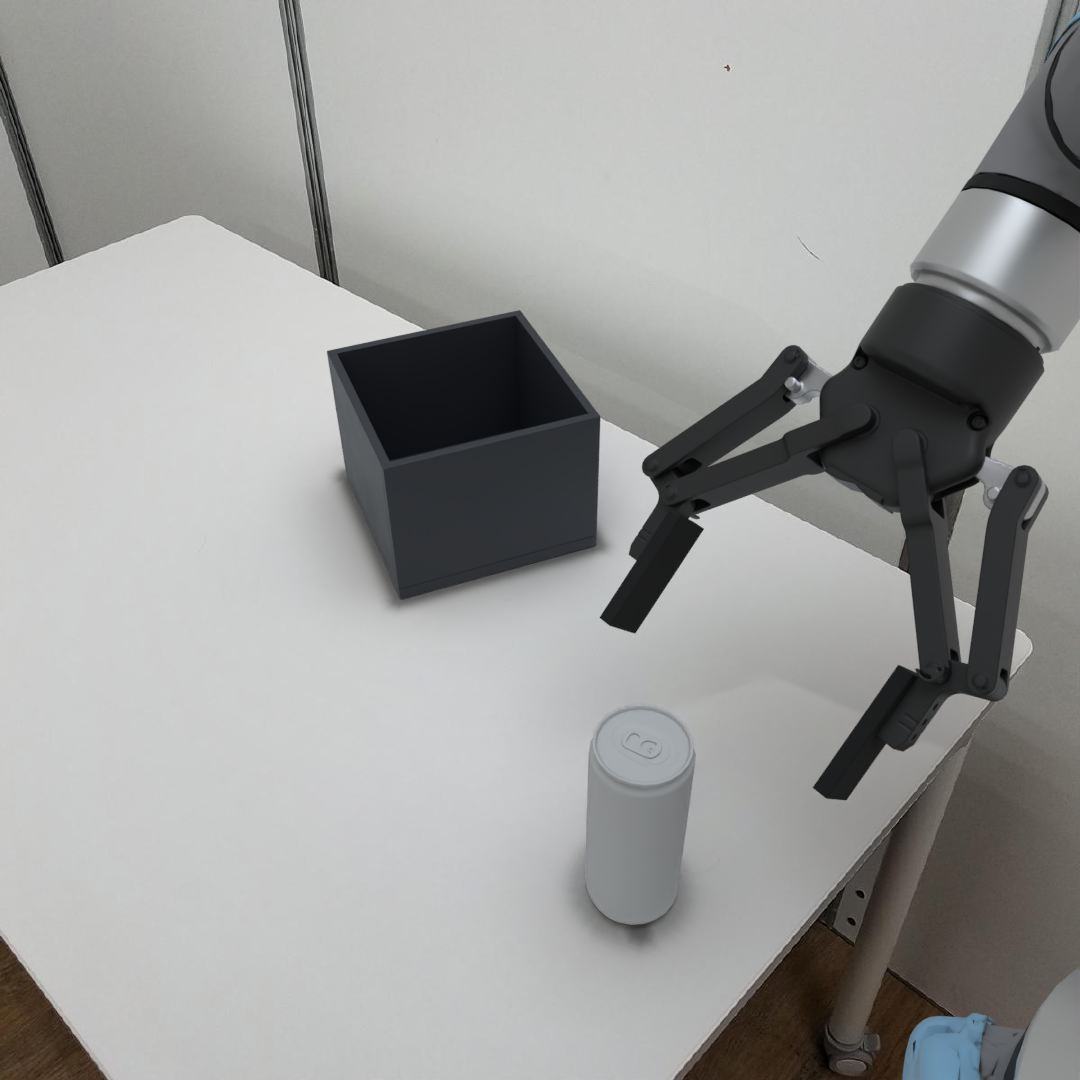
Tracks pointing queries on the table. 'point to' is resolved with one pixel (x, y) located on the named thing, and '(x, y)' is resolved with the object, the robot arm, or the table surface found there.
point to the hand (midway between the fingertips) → (715, 704)
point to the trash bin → (466, 450)
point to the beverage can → (637, 811)
